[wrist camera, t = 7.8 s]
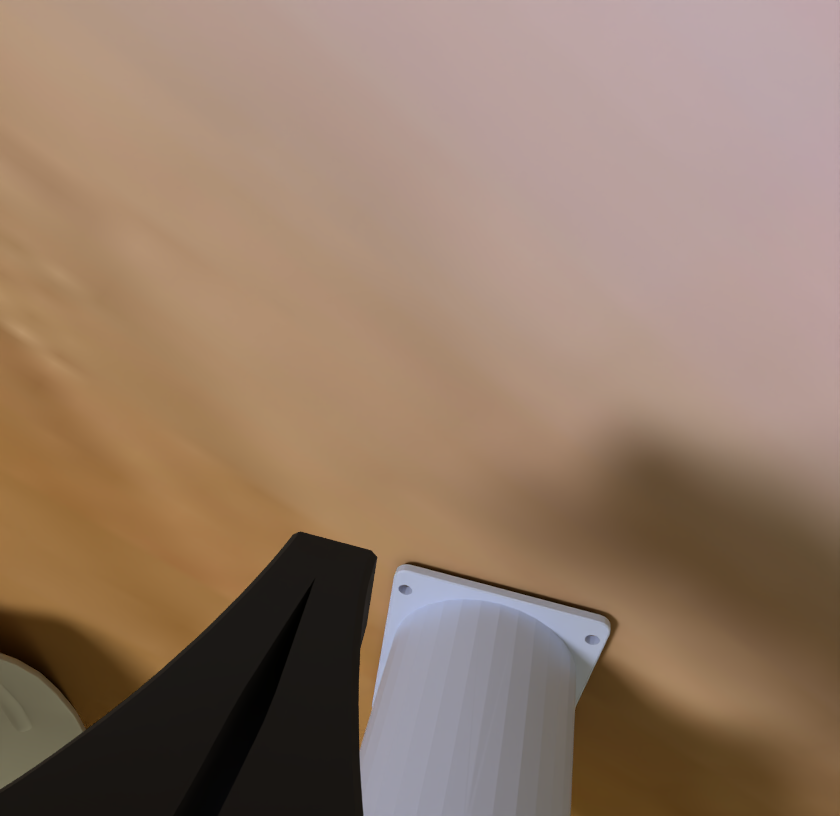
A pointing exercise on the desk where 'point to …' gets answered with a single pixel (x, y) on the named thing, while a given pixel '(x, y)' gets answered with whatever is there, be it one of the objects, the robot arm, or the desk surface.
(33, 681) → the portable electronic device stand
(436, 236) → the desk surface
